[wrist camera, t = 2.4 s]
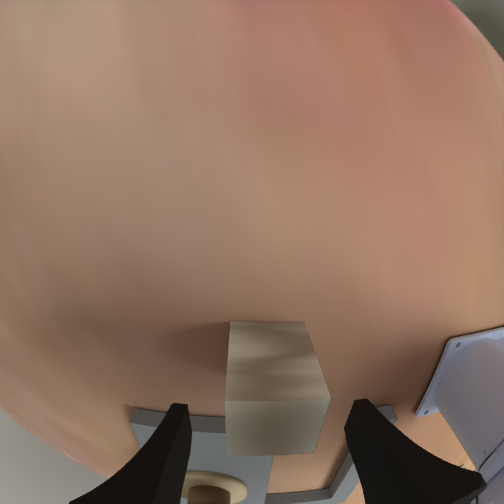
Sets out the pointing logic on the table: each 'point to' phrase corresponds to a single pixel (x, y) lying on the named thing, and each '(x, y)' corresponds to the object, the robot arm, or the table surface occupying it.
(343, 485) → the notched board
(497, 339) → the robot arm
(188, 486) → the spool
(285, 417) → the block
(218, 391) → the table surface
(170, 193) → the table surface
